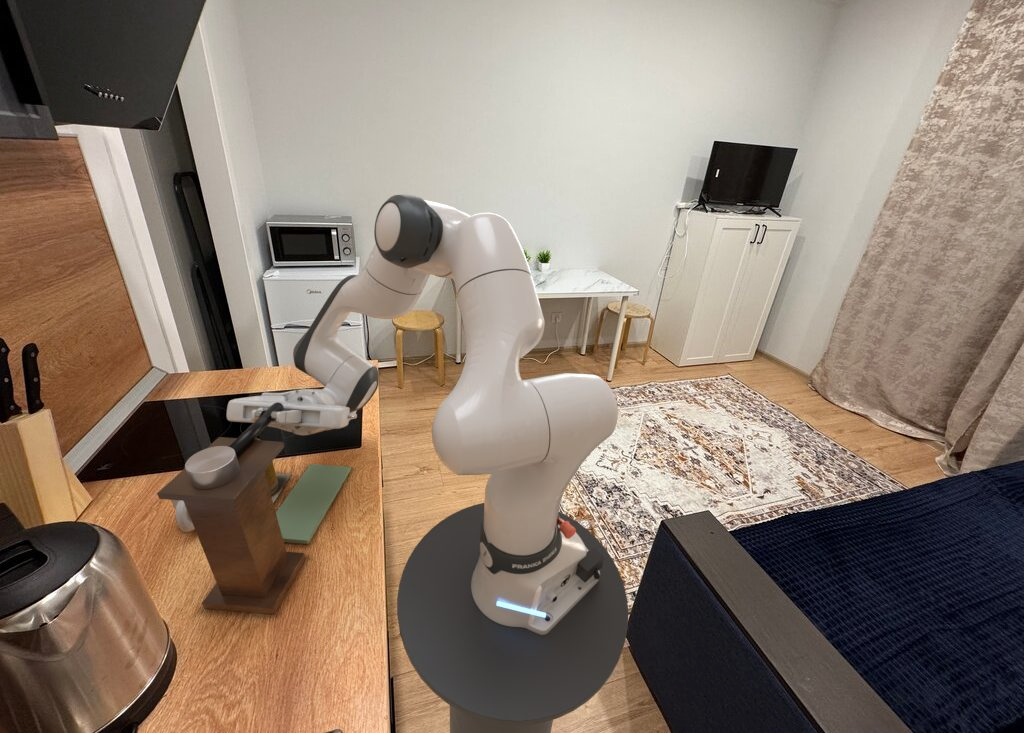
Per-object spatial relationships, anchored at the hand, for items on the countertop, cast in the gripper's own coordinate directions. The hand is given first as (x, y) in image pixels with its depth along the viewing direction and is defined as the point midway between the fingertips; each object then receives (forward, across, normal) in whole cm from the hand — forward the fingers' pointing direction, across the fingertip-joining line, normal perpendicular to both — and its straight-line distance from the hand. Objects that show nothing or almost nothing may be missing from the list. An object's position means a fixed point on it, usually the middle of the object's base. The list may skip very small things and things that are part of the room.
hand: (265, 416), depth 67 cm
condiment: (-21, +11, -17) cm, 29 cm away
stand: (-4, 0, -27) cm, 27 cm away
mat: (-18, 0, -19) cm, 26 cm away
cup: (-13, +17, -22) cm, 31 cm away
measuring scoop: (+4, 0, -4) cm, 5 cm away
